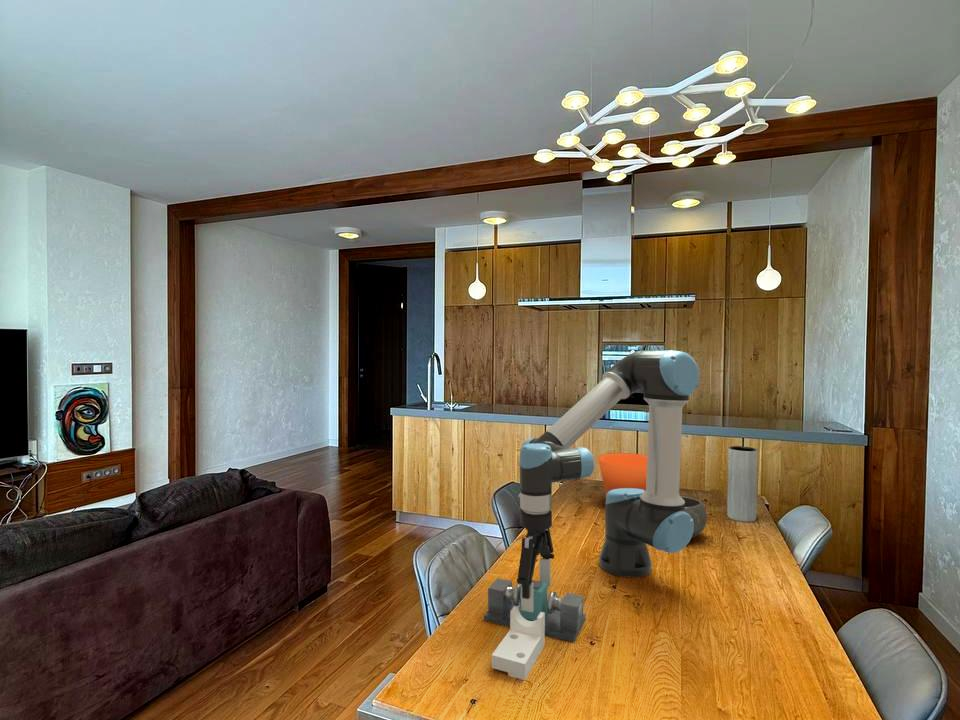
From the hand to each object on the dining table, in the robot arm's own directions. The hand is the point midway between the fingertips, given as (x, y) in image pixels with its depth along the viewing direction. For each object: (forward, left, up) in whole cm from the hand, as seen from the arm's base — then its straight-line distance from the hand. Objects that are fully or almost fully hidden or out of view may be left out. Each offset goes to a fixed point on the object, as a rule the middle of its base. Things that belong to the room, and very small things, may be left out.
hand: (536, 597), depth 123 cm
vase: (-49, -105, -5) cm, 116 cm away
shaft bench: (0, 0, -5) cm, 5 cm away
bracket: (-1, +16, -6) cm, 17 cm away
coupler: (0, 0, -4) cm, 4 cm away
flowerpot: (-7, -101, -6) cm, 101 cm away
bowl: (-28, -74, -6) cm, 79 cm away
